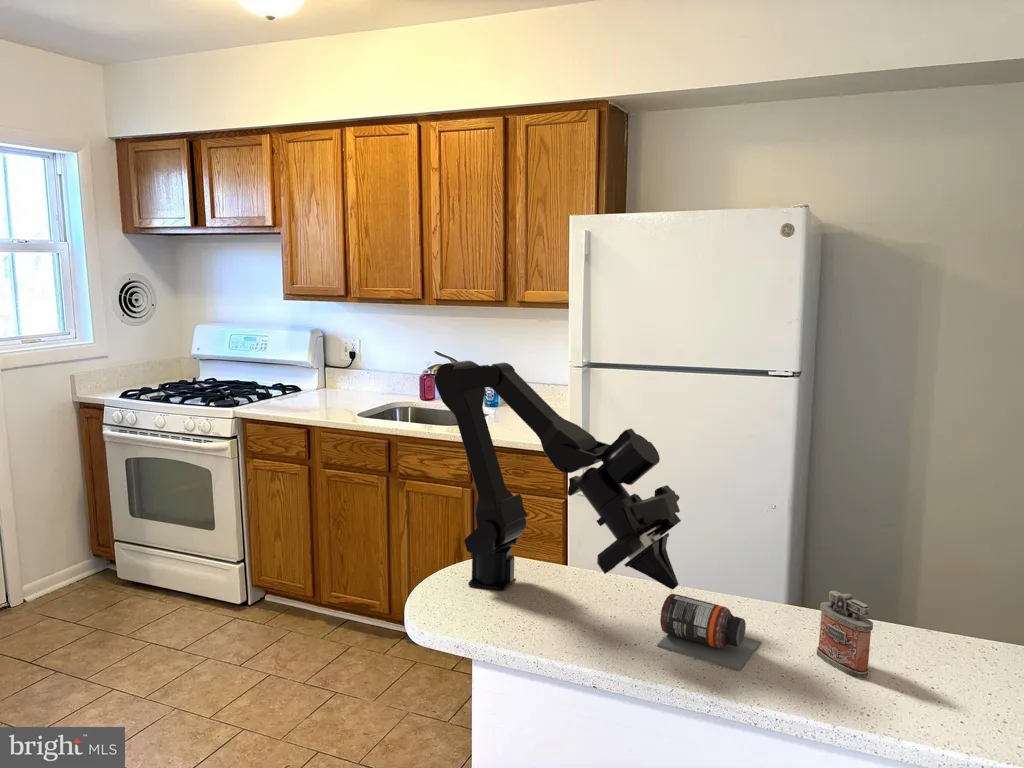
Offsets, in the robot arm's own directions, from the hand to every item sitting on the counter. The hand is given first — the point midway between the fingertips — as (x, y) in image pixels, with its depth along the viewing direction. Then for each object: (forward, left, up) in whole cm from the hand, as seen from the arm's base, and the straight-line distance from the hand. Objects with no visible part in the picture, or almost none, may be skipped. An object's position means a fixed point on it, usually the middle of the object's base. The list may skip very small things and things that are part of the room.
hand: (675, 587), depth 112 cm
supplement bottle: (-1, 0, -4) cm, 4 cm away
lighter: (+23, -2, -8) cm, 24 cm away
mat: (+5, -2, -7) cm, 9 cm away
